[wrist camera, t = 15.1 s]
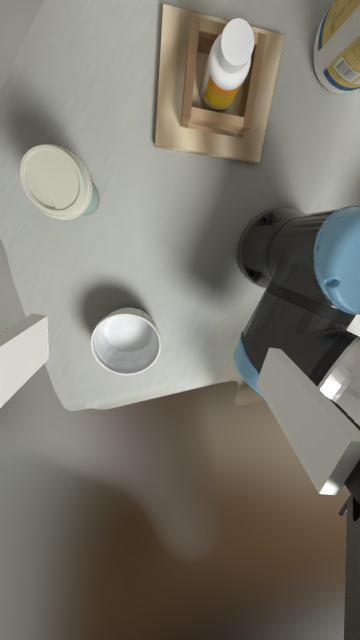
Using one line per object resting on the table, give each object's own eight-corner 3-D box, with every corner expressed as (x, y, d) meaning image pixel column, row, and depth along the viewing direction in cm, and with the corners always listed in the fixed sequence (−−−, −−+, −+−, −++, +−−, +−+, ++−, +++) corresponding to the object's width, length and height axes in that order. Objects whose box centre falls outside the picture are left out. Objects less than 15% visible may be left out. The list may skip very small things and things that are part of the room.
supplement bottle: (236, 109, 35) (263, 65, 26) (204, 119, 35) (220, 79, 26) (230, 64, 33) (257, 1, 24) (196, 75, 33) (210, 16, 24)
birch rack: (280, 41, 34) (298, 12, 30) (256, 163, 39) (269, 154, 35) (163, 11, 32) (164, -25, 27) (155, 146, 37) (154, 134, 33)
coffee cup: (51, 166, 37) (5, 136, 25) (104, 169, 37) (83, 140, 26) (60, 223, 40) (22, 217, 28) (109, 224, 40) (91, 219, 29)
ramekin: (146, 365, 52) (145, 384, 45) (90, 346, 49) (80, 363, 42) (170, 316, 48) (172, 328, 42) (110, 292, 45) (103, 301, 38)
